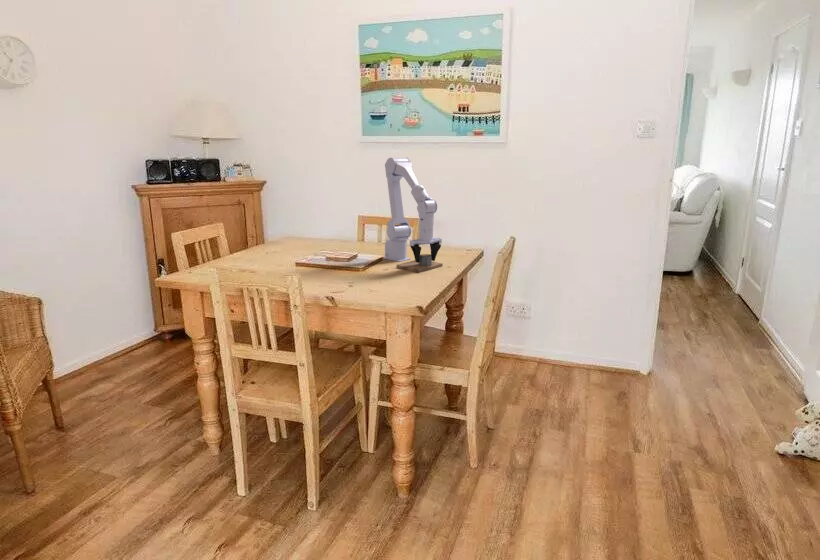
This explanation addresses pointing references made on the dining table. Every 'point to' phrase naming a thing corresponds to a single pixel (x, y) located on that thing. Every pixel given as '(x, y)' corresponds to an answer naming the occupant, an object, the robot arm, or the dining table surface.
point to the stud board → (418, 266)
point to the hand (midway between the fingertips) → (425, 261)
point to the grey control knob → (425, 260)
